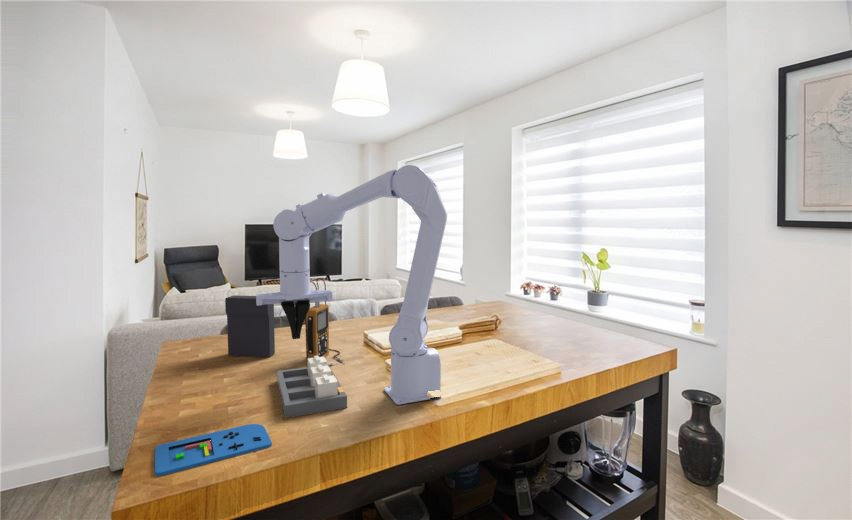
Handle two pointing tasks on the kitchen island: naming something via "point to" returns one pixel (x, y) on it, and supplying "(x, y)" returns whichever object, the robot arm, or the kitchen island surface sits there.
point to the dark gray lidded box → (249, 327)
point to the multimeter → (318, 330)
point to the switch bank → (305, 394)
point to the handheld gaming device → (209, 448)
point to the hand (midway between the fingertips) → (295, 337)
